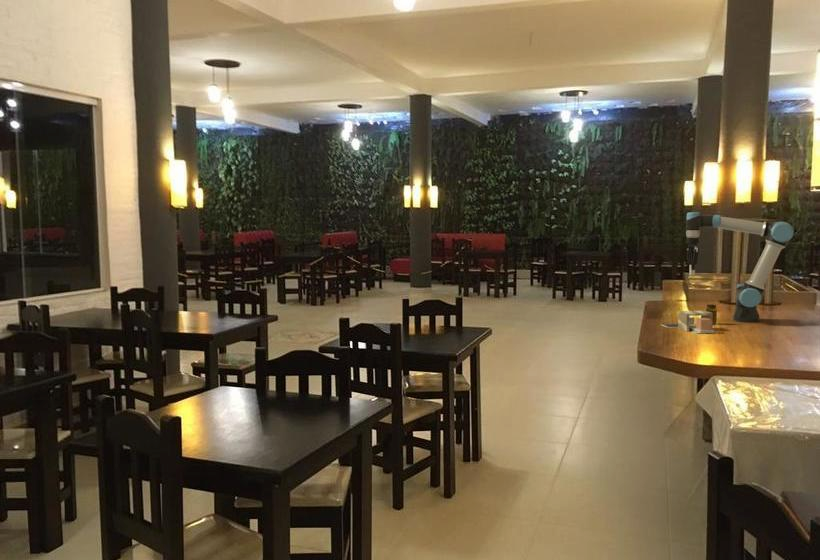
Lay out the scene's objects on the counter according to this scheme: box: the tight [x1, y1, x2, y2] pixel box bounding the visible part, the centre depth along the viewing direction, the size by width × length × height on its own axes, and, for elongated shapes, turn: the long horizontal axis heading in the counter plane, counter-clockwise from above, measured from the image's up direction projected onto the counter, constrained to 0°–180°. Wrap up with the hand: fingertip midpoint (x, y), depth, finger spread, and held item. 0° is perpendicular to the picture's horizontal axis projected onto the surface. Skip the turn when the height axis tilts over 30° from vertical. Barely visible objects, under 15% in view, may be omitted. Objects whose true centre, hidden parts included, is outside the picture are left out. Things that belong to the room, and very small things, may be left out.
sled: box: [689, 316, 715, 334], centre depth 401 cm, size 8×25×7 cm, turn 3°
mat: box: [691, 330, 716, 335], centre depth 394 cm, size 11×7×1 cm, turn 93°
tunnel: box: [677, 310, 713, 332], centre depth 404 cm, size 15×11×10 cm
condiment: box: [705, 303, 718, 326], centre depth 421 cm, size 7×8×12 cm
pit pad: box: [661, 323, 678, 329], centre depth 418 cm, size 17×10×1 cm, turn 93°
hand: (692, 275), depth 429 cm, fingers closed
